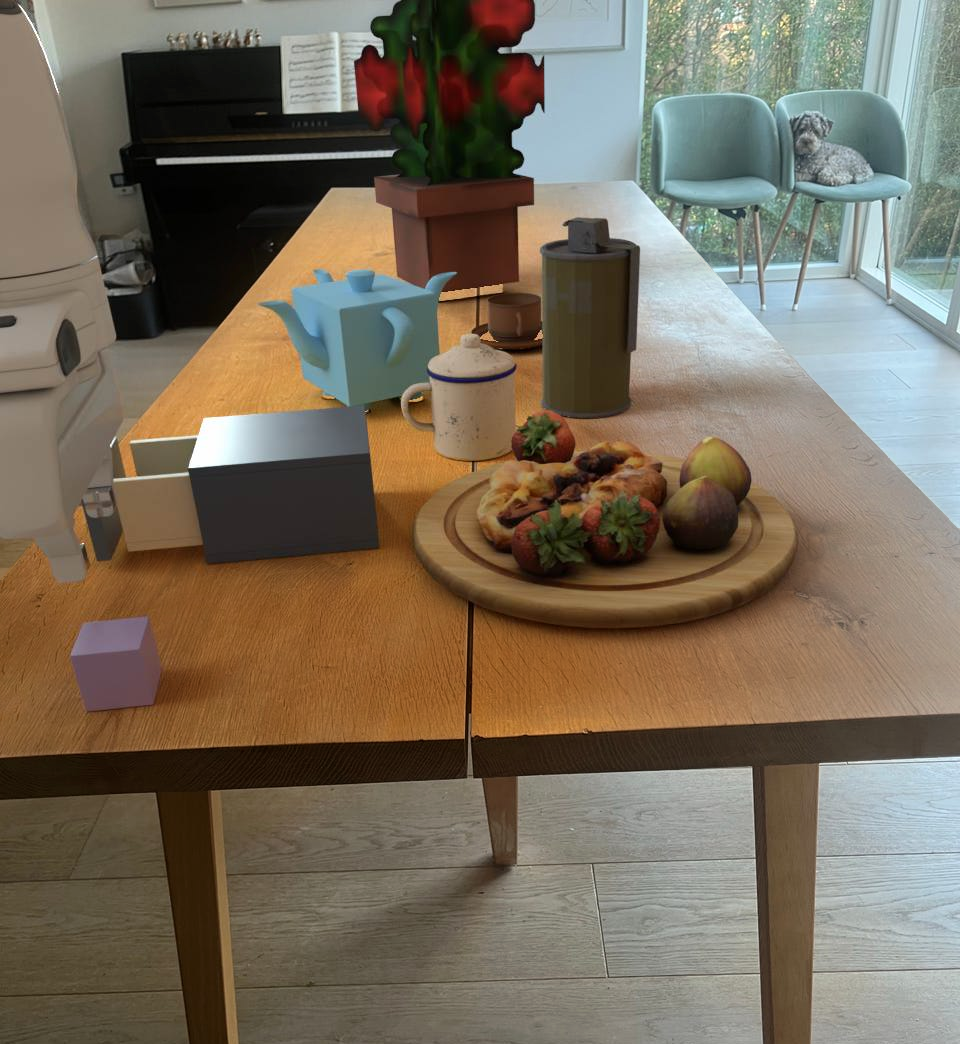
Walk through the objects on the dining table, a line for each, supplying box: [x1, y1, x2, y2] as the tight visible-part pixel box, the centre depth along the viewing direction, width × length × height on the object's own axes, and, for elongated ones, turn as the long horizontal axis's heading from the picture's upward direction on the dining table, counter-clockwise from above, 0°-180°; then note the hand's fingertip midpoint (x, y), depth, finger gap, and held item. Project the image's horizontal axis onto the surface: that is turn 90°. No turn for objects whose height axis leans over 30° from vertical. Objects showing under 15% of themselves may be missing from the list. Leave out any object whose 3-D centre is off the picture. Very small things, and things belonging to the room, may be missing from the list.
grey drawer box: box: [188, 405, 380, 565], centre depth 90 cm, size 15×13×9 cm
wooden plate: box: [411, 409, 799, 629], centre depth 85 cm, size 32×32×8 cm
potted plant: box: [353, 0, 546, 292], centre depth 160 cm, size 22×22×45 cm
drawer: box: [78, 434, 203, 562], centre depth 89 cm, size 18×11×7 cm, turn 98°
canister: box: [539, 216, 641, 419], centre depth 113 cm, size 11×10×20 cm
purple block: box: [69, 616, 163, 713], centre depth 69 cm, size 4×4×4 cm
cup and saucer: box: [470, 292, 543, 350], centre depth 140 cm, size 12×12×6 cm
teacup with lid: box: [400, 333, 518, 462], centre depth 104 cm, size 12×9×12 cm
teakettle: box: [257, 268, 457, 411], centre depth 120 cm, size 19×19×15 cm
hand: (89, 543), depth 64 cm, fingers open, 8 cm apart
